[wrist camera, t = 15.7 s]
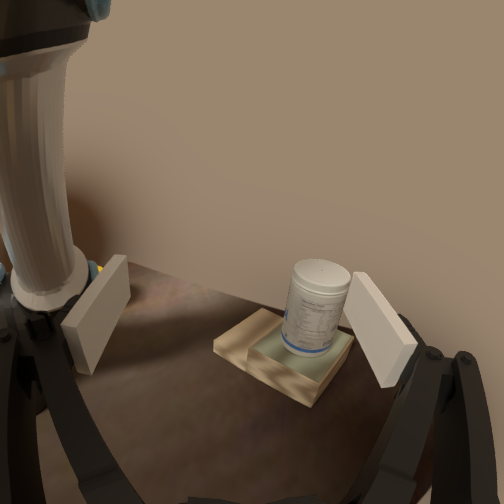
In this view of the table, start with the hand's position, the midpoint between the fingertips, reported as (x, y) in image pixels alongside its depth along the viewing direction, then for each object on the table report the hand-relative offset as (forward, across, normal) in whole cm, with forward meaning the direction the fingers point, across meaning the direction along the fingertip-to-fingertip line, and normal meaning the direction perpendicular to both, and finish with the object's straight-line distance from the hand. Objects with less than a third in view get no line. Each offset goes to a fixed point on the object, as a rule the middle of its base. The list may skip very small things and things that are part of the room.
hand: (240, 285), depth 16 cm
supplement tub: (+25, +14, -26) cm, 39 cm away
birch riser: (+28, +11, -32) cm, 44 cm away
